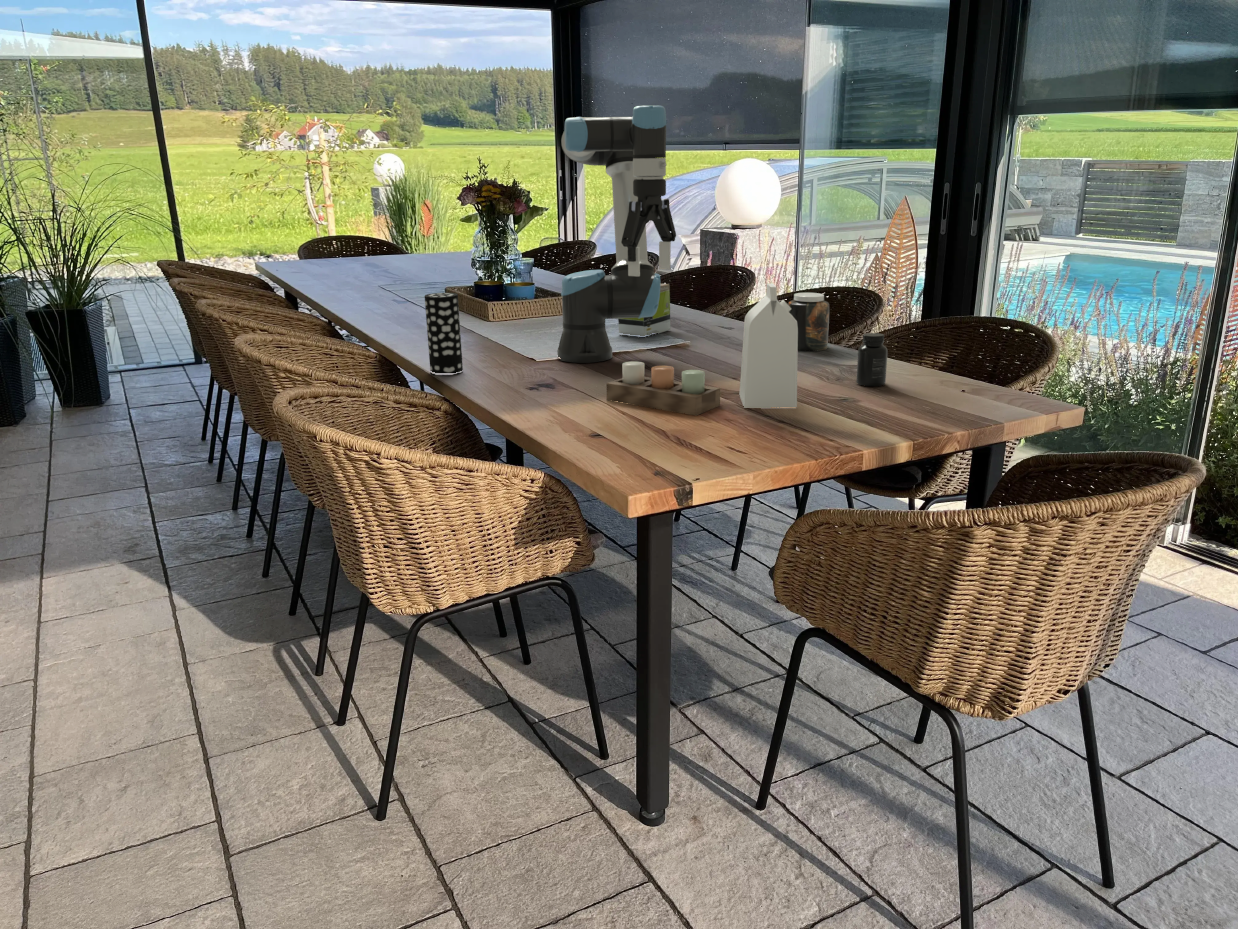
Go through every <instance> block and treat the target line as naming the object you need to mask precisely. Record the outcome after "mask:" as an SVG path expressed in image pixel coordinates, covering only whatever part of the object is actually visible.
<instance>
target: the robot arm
mask: <svg viewBox="0 0 1238 929" xmlns="http://www.w3.org/2000/svg"><path fill="white" fill-rule="evenodd" d="M666 114H667V113H666V108H665V106H663V105H636V106H635V107H633V109H632V116H607V117H605V116H604V117H603V116H596V117H595V116H592V117H588V116H587V117H582V116H576V117H567V118H566V119H565V121H564V129H563V130H564V131H563V133H562V135H561V140H560V141H561V143H560V145H561V149H562V151H563V154H565V156H567V157H568V158H569V159H570V160H572V161H574V162H577V163H578V164H583V165H585V166H586V165H588V166H593V167H594V166H595V167H596V166H598V167H599V166H600V167H601V166H603V167H604V166H605V173H606V174H607V175H608V176H609V177H610V178H611V189H612V190H611V191H612V202H613V205H612V206H613V221H614V222H613V224H614V239H615V240H614V244H615V258H616V259H615V260H616V263H615V264H614V265H613V266H612V267H611V270H610V271H611V272H610V275H609V274H607V275H606V273H605V271H604V270H603V269H590V270H589V269H588V270H583V271H578V272H576V271H575V272H573V273H570V274H567V275H565V276H563V278H562V280H561V293H560V296H561V302H562V306H561V308H562V332H561V335H560V336H561V337H560V341H559V343H558V347H557V350H556V351H557V352H556V353H557V354H556V355H558V357H560V358H561V359H560V360H559V361H562V362H565V363H575V364H578V363H579V364H585V363H586V364H587V363H589V364H590V363H597V362H604V361H607V360H608V361H609V360H610V359H612V358H613V347H612V346H611V342H610V339H609V336H608V333H607V329H606V320H610V319H612V320H613V319H617V320H618V318H638V319H640V318H643V317H652V316H653V315H655V313H656V311H657V308H658V304H659V297H660V286H661V284H662V283H661V276H660V273H656V272H655V270H654V269H655V268H654V265H653V264H651V263H650V261H649V260H648V259H649V257H648V241H647V224H648V223H650V221H651V222H653V225H654V226H655V229H656V232H657V233H658V235H659V237H660V240H661V241H659V243H658V266H659V267H658V268H659V270H665V271H667V270H668V271H671V251H672V250H671V249H672V248H671V243H672V242H675V241H676V238H677V231H676V229H675V224H674V220H673V217H672V211H671V206H670V199H669V198H662V197H665V196H666V194H667V180H666V179H665V178H664V177H665V176H667V173H666V172H667V162H666V160H667V153H666V152H667V123H668V121H667V115H666ZM558 357H557V358H558Z"/></svg>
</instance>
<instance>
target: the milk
mask: <svg viewBox="0 0 1238 929" xmlns="http://www.w3.org/2000/svg"><path fill="white" fill-rule="evenodd" d="M777 288H778V287H777V286H776V284H775V283H773V282H771V283H769V282H767V284H766V292H765V293H766V294H765V296H763V297H762V298H761V299H760V300H759V301H757V303H756V304H755V305H754V306H753V307H751V309H749V310H748V312H747V313H746V314H745V316H744V320H743V321H744V324H743V338H742V349H741V350H742V352H741V365H740V366H741V367H740V381H739V392H738V393H739V394H738V396H739V395H740V396H739V398H740V401H741V404H742V407H743V406H744V407H743V409H744V408H761V409H772V408H771V407H776V408H775V409H781V408H780V407H797V408H798V357H799V356H798V353H799V352H798V326H797V321H796V320H795V318H794V317H793V316H792V315H791V314H790V313H789V311H790V310H791V308H790V307H789V305H788V303H787V302H786V301H785V300H784V299H782V300H781V301H779V300H778V293H777V292H778V290H777ZM777 407H779V408H777Z"/></svg>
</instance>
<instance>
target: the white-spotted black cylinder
mask: <svg viewBox="0 0 1238 929" xmlns="http://www.w3.org/2000/svg"><path fill="white" fill-rule="evenodd" d="M423 298H424V307H425V309H424V310H425V319H426V332H427V333H426V334H427V343H428V344H427V345H428V358H429V369H430V371H432V372H435V373H456V372H460V371H462V370H463V371H464V368H463V353H462V352H463V350H462V338H461V337H462V336H461V324H460V323H461V322H460V309H459V295H458V293H454V292H434V293H428V294H425V295H424V296H423Z"/></svg>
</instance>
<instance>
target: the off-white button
mask: <svg viewBox="0 0 1238 929" xmlns="http://www.w3.org/2000/svg"><path fill="white" fill-rule="evenodd" d="M621 365H622V372H621V373H622V378H623V383H626V384H632V385H639V384H641V383H644V377H645V363H644V362H642V361H626V362H623V363H622V364H621Z"/></svg>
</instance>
